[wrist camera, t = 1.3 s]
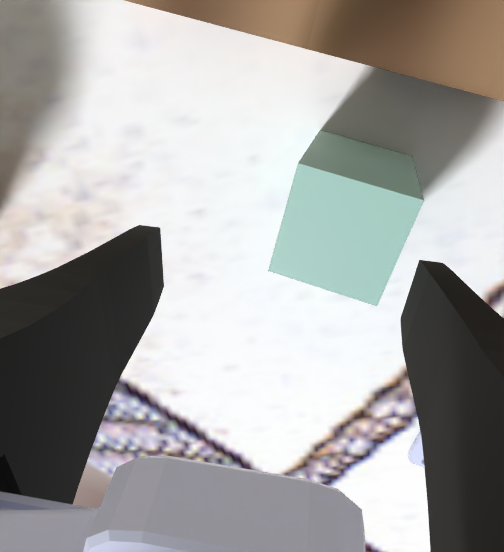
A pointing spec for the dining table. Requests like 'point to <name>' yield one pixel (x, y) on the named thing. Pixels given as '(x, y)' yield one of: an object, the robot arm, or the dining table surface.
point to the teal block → (347, 217)
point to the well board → (377, 33)
